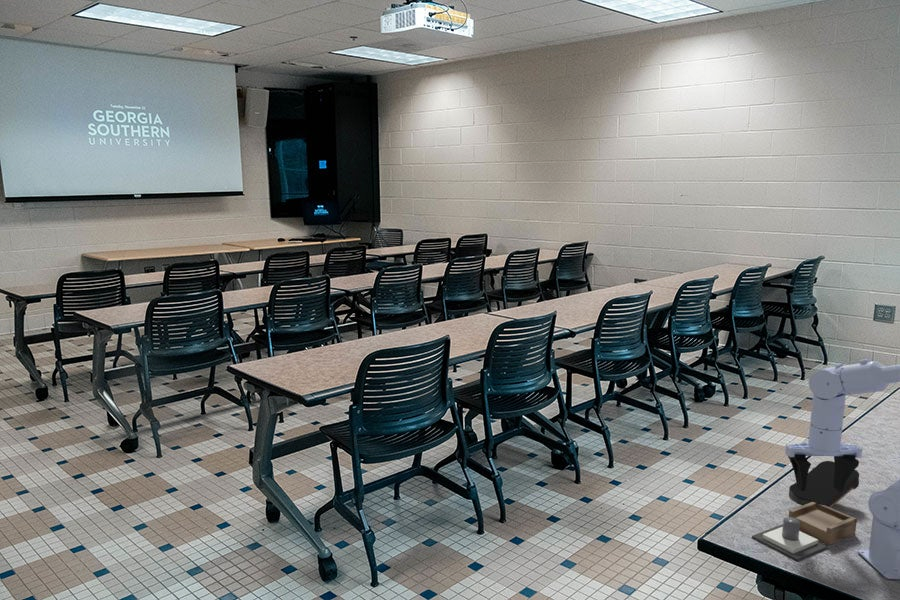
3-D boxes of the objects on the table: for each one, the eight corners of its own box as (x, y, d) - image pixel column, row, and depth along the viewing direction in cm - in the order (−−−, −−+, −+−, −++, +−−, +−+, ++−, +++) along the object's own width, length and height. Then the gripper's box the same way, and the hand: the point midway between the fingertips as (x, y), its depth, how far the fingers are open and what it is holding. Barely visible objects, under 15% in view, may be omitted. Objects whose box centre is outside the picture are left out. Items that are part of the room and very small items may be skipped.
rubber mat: (782, 525, 144) (782, 524, 144) (828, 547, 136) (828, 545, 136) (751, 537, 140) (751, 535, 139) (797, 560, 131) (797, 559, 131)
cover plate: (786, 528, 142) (788, 509, 142) (817, 543, 137) (819, 523, 136) (762, 537, 139) (764, 518, 138) (793, 553, 133) (795, 532, 132)
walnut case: (813, 515, 149) (815, 500, 148) (855, 534, 141) (856, 518, 141) (787, 525, 144) (789, 510, 144) (829, 545, 137) (830, 528, 136)
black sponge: (825, 471, 161) (825, 458, 160) (862, 485, 155) (862, 471, 153) (785, 503, 154) (784, 489, 152) (822, 519, 147) (822, 504, 145)
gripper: (850, 419, 142) (843, 481, 144) (780, 418, 142) (774, 480, 144) (871, 431, 135) (863, 496, 137) (797, 431, 135) (791, 495, 137)
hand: (819, 489), depth 140 cm, fingers open, 7 cm apart
